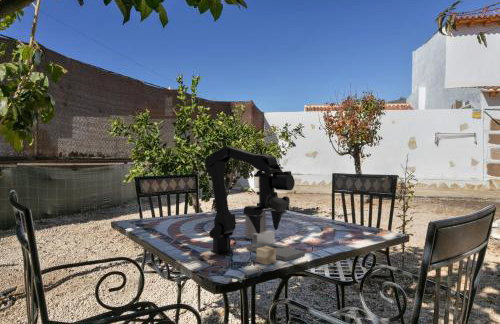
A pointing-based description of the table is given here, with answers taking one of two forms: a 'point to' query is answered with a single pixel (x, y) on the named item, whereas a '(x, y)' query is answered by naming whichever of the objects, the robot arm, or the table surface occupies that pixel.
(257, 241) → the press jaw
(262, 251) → the block
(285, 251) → the press bed
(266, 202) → the robot arm
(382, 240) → the table surface
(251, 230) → the pillar candle
